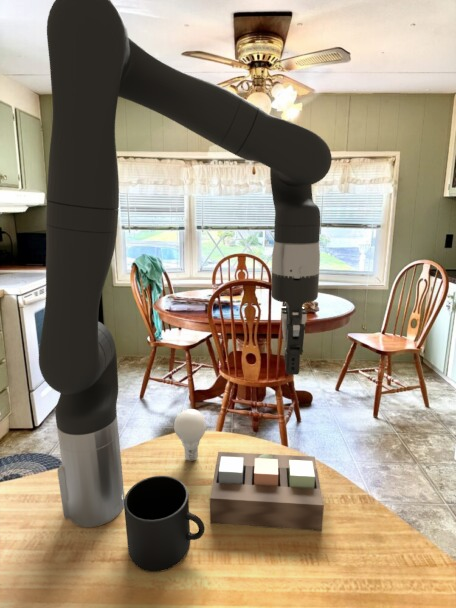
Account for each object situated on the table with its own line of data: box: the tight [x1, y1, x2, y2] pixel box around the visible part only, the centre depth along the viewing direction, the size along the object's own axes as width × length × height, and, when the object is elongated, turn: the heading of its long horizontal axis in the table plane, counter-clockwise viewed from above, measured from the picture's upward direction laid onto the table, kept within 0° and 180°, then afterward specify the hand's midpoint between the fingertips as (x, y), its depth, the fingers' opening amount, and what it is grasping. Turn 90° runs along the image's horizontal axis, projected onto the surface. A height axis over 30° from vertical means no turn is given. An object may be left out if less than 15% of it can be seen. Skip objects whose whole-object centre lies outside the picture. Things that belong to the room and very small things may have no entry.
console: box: [209, 451, 325, 532], centre depth 70 cm, size 18×12×5 cm, turn 85°
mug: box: [123, 475, 206, 573], centre depth 61 cm, size 9×12×9 cm
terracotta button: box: [254, 458, 278, 486], centre depth 70 cm, size 4×4×4 cm
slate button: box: [219, 456, 244, 484], centre depth 70 cm, size 4×4×4 cm
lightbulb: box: [173, 408, 207, 462], centre depth 80 cm, size 6×6×11 cm
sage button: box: [288, 460, 315, 488], centre depth 69 cm, size 4×4×4 cm
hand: (291, 367), depth 69 cm, fingers open, 3 cm apart
